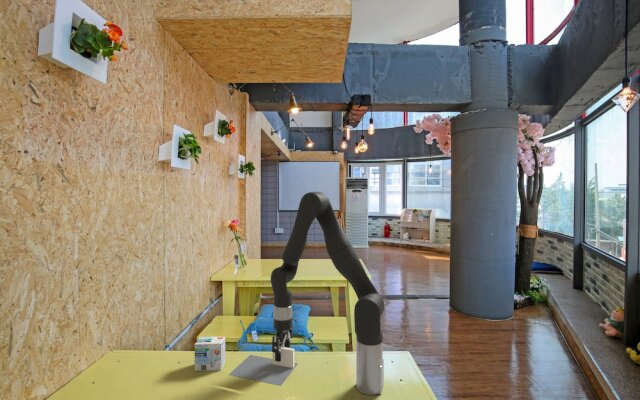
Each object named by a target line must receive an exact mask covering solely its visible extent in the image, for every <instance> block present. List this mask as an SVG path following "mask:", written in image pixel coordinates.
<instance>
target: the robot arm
mask: <svg viewBox="0 0 640 400" xmlns="http://www.w3.org/2000/svg"><path fill="white" fill-rule="evenodd" d="M315 219H316V221H317V222H318V223H319V226H320V227H321V230H322V233H323V238H324V244H325V248H326V252H327V254H328V257H329V258H330V260H331V263H332V264H333V266H334V267H335V270H337V272H338V273H339V274H340V275H341V276H342V277H343V278H345V280H346V281H347V282H348V283H349V284H350V286H351V287H352V289H353V291H354V292H355V294H356V297H357V301H356V302H355V304H354V310H353V311H354V313H353V317H354V318H353V320H354V321H353V322H354V333H355V335H356V338H355V339H356V343H355V344H356V348H355V349H356V356H355V357H356V363H355V364H356V371H355V372H356V378H355V379H356V389H357V391H359V392H360V393H362V394H364V395H369V396H370V395H371V396H372V395H382V392H383V390H384V389H383V388H384V384H385V383H384V382H385V381H384V372H385V369H384V366H385V361H384V358H383V357H384V355H383V354H384V353H383V349H384V348H383V346H384V344H383V343H384V342H383V339H384V337H383V336H384V335H383V332H382V331H381V329H382V327H381V316H382V315H383V313H384V311H385V303H384V299H383V298H382V295H381V294H380V293H379V291H378V290H377V288H376V287H375V285H374V284H373V282H372V281H371V279H370V278H369V276H368V273H366V272H367V271H366V269H365V268H364V266H363V264H362V263H361V260H360V259H359V256H358V255H357V252H356V250H355V248H354V246H353V245H352V243H351V241H350V239H349V237H348V236H347V235H346V232H345V230H344V229H343V226H342V225H341V223H340V222H339V220H338V218H337V216H336V213H335V210H334V208H333V206H332V203H331V201H330V199H329V197H328V195H326V194H325V193H324V192H321V191H311V192H310V191H309V192H306V193H305V194H303V196H302V197H301V199H300V201H299V205H298V208H297V214H296V217H295V220H294V224H293V228H292V231H291V233H290V236H289V239H288V241H287V243H286V245H285V247H284V250H283V252H282V255H281V260H282V265H281V266H278V267H274V269H273V270H272V271H271V273H270V283H271V289H272V293H273V313H272V314H273V315H272V316H273V319H272V320H273V324H272V325H273V326H272V327H273V329H274V330H275V331H276V335H275V336H272V339H271V352H272V353H273V352H274V353H275V361H277V362H280V361H281V349H282V347H286V348H291V342H292V339H293V338H294V333H293V332H294V327H293V294H292V291H291V290H290V289H288V288H287V287H288V283H291V282H292V281H293V280H294V278H295V277H296V274H297V271H298V267H299V262H300V260H301V258H302V255H303V253H304V252H305V251H304V250H305V249H306V245H307V240H308V235H309V234H308V233H309V230H310V228H311V226H312V224H313V222H314V220H315ZM279 346H280V348H279Z"/></svg>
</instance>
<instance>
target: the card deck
mask: <svg viewBox="0 0 640 400" xmlns="http://www.w3.org/2000/svg"><path fill="white" fill-rule="evenodd" d="M279 348H280V346H279ZM295 352H296V350H295V348H291V347H290V348H286V347H285V346H283V347H282V349H281V361H280V362H277V361H275V353H274V352H272V359H273V364H274V365H280V366H285V367H290V368H294V367H295V363H296V361H295V360H296V359H295V358H296V357H295V356H296V355H295V354H296V353H295ZM295 368H296V367H295ZM295 368H294V369H295Z"/></svg>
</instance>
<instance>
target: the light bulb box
mask: <svg viewBox="0 0 640 400" xmlns="http://www.w3.org/2000/svg"><path fill="white" fill-rule="evenodd" d="M225 363H226V337H225V336H199V338H198V339H197V341H196V342H195V343H194V371H195V372H198V371H199V372H200V371H201V372H202V371H206V372H207V371H222V369H223V368H224V366H225Z"/></svg>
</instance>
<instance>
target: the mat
mask: <svg viewBox="0 0 640 400" xmlns="http://www.w3.org/2000/svg"><path fill="white" fill-rule="evenodd" d="M298 365H299V362H295V367H294V368H290V367H285V366H280V365H274V364H273V358H271V357H266V356H265V357H263V356H259V355H254V354H249V356H247V357H246V358H245V359H244V360H243V361H242V362H241V363H240V364H238V365H237V366H236V367H235V368H234V369H233V370H232V371H231V372H230V373H228V376H232V377H235V378H241V379H246V380H251V381H255V382H256V381H257V382H261V383H265V384H269V385H275V386H280V387H281V386H282V385H283V384H284V383H285V381H286V380H287V379H288V377H289V376H290V374H292V372H293V371H294V370H295V368H297V366H298Z"/></svg>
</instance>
